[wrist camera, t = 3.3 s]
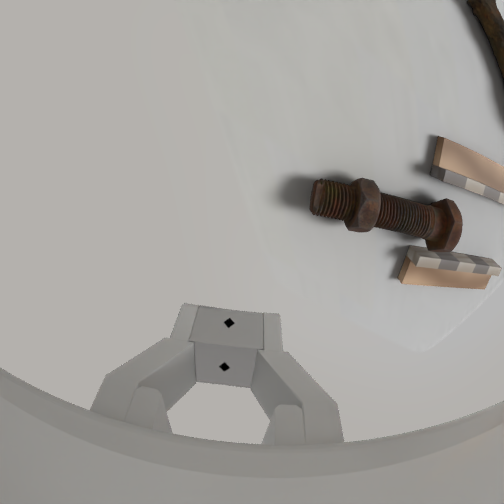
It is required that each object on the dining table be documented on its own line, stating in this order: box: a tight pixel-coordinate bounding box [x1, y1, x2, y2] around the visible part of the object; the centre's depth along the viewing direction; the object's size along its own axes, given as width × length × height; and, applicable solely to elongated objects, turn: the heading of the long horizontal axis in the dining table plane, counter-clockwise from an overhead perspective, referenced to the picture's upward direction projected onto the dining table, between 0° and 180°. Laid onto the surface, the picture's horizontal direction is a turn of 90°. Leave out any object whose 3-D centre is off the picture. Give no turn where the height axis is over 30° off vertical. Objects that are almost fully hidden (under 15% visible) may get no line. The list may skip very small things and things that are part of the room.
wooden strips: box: [398, 136, 504, 289], centre depth 24 cm, size 16×16×2 cm
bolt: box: [310, 178, 462, 252], centre depth 23 cm, size 6×5×15 cm
